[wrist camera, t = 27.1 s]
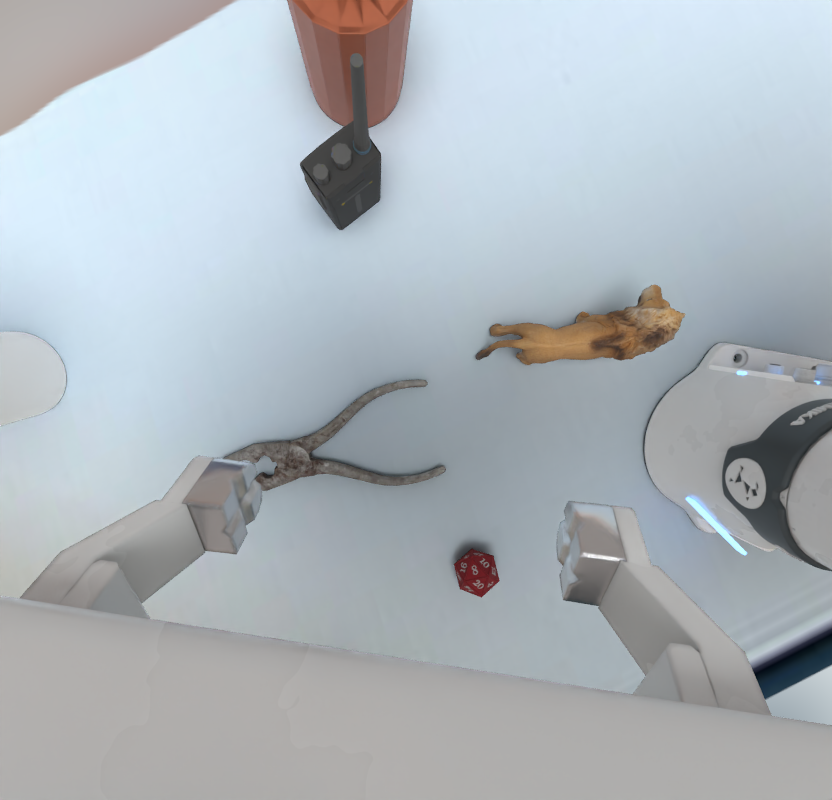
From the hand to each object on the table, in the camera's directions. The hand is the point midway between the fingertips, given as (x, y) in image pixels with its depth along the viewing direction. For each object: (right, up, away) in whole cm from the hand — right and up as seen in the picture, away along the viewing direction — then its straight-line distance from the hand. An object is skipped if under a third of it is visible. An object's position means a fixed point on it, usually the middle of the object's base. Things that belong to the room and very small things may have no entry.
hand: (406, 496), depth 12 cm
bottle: (-5, +28, +25) cm, 38 cm away
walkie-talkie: (-5, +19, +27) cm, 33 cm away
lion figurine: (+13, +9, +30) cm, 34 cm away
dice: (+6, -13, +34) cm, 37 cm away
